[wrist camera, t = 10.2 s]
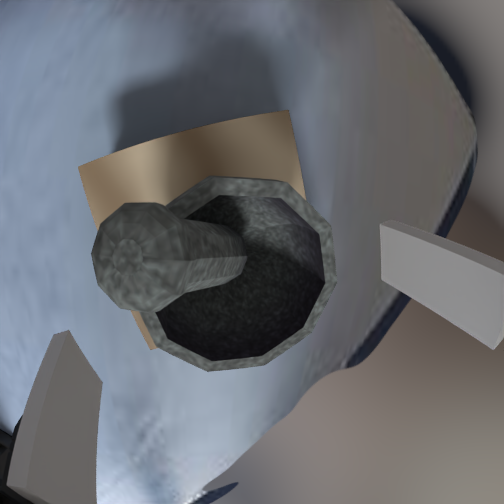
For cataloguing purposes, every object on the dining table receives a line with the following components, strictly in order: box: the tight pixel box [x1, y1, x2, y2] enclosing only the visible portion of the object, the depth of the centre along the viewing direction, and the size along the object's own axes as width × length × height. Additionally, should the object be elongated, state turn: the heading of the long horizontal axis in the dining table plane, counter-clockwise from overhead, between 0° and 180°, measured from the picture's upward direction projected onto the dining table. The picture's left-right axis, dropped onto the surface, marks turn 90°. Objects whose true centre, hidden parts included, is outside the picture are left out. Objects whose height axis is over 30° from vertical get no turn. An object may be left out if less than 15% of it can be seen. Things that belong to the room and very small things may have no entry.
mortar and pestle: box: [91, 175, 337, 372], centre depth 13 cm, size 11×9×12 cm
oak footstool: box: [78, 110, 306, 350], centre depth 21 cm, size 14×14×6 cm
